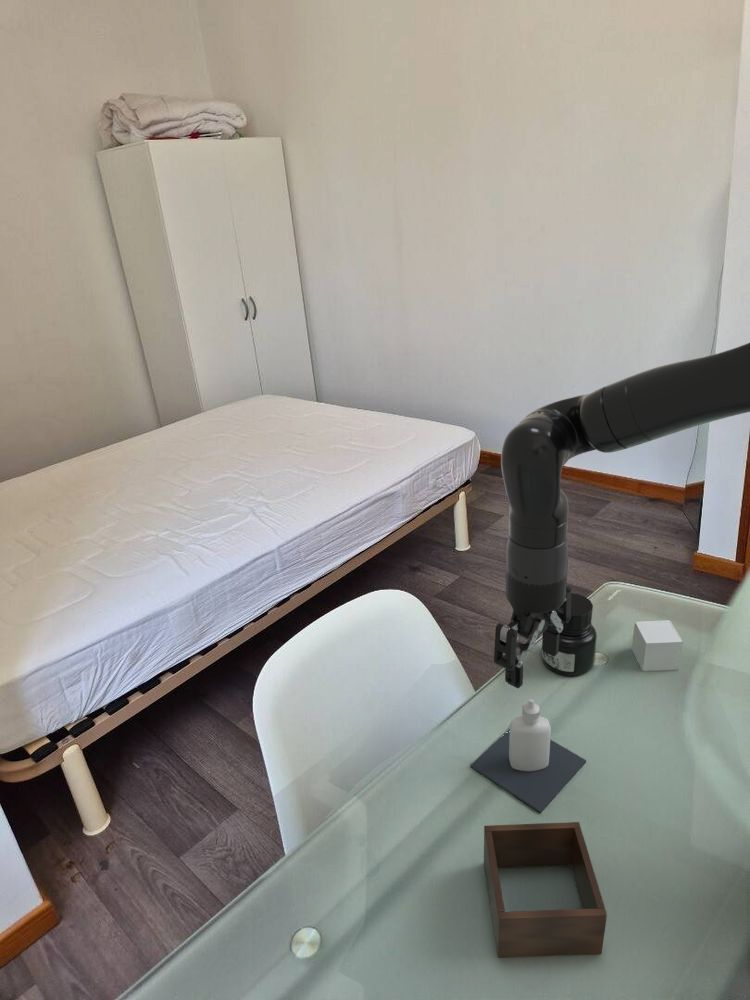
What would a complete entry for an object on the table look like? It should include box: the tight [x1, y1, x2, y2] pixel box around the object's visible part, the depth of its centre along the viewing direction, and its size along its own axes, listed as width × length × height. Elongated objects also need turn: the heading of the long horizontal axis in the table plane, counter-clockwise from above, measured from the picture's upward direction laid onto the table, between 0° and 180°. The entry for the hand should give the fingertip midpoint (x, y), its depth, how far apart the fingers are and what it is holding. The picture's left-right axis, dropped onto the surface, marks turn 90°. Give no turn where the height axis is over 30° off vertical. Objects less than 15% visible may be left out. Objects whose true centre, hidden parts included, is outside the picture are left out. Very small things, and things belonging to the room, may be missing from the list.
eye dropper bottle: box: [509, 698, 552, 771], centre depth 98 cm, size 4×6×12 cm
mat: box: [470, 728, 587, 814], centre depth 101 cm, size 12×12×1 cm
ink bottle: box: [541, 592, 598, 677], centre depth 118 cm, size 10×9×12 cm
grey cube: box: [631, 619, 684, 672], centre depth 118 cm, size 6×6×6 cm
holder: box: [483, 821, 608, 958], centre depth 81 cm, size 12×12×7 cm
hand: (532, 668), depth 93 cm, fingers open, 8 cm apart
